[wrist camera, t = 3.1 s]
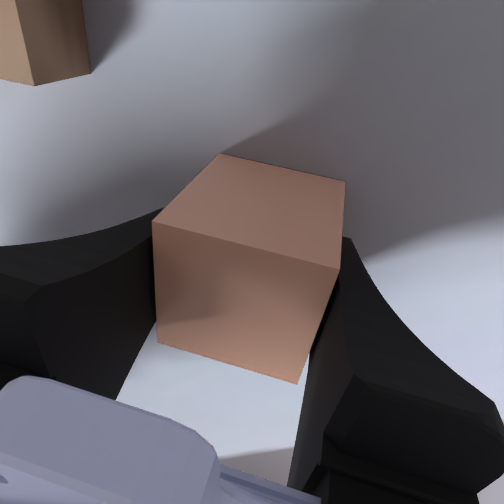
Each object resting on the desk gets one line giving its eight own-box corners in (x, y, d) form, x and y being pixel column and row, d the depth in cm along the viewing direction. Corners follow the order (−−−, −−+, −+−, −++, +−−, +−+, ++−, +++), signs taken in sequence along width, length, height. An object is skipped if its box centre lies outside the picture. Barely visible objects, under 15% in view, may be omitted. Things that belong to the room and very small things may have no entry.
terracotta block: (313, 281, 14) (297, 384, 10) (211, 253, 15) (157, 342, 11) (345, 181, 12) (339, 269, 8) (219, 153, 12) (151, 221, 8)
